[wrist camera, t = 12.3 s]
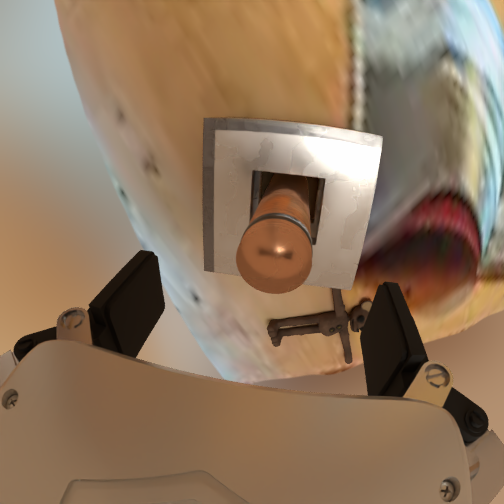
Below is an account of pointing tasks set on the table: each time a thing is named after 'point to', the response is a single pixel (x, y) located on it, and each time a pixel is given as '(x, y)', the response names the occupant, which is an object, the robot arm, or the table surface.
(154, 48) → the table surface
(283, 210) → the tube
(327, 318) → the bear figurine
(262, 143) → the frame
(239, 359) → the table surface
